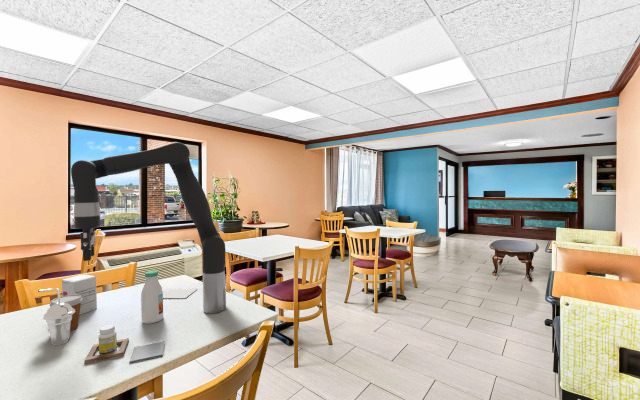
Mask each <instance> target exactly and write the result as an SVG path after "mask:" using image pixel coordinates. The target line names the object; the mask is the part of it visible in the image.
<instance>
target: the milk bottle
mask: <svg viewBox="0 0 640 400" xmlns="http://www.w3.org/2000/svg"><path fill="white" fill-rule="evenodd" d="M158 277H159V271H158V270H148V271H146V272H145V273H144V279H145V281H144V284H143V287H142V290H141V292H140V293H141V294H140V296H141V297H140V306H141V308H140V310H141V312H140V313H141V322H142V323H143V324H146V325H147V324H148V325H149V324H155V323H158V322H159V321H162V320H163V318H164V298H163V291H164V290H163V288H162V285H161V283H160V281H159V279H158Z"/></svg>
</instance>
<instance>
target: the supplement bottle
mask: <svg viewBox="0 0 640 400" xmlns="http://www.w3.org/2000/svg"><path fill="white" fill-rule="evenodd" d="M117 340H118V339H117V331H116V325H115V324H106V325H103V326H101V327H99V334H98V344H99V349H98V353H99V354H98V355H102V354H107V353H112V352H117V349H118V346H117Z"/></svg>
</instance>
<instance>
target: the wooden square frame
mask: <svg viewBox="0 0 640 400" xmlns="http://www.w3.org/2000/svg"><path fill="white" fill-rule="evenodd" d="M129 340H130V339H129V338H128V337H127V338H121V339H117V347H118V346H120V347H119V348H118V351H117V350H116V351H115V352H112V353H107V354H102V355H100V354H98V355H96V354H97V352H98V351H99V343H95V344H93V345H92V346H91V348H90V350H89V352H88V353H87V355H86V357H85V359H84V360H83V362H84V365H88V364H92V363H93V364H94V363H95V362H97V363H98V362H102V361H106V360H111V359H116V358H121V357H124V354H125V353H126V349H127V346H128V344H129Z"/></svg>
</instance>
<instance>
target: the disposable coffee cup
mask: <svg viewBox="0 0 640 400" xmlns="http://www.w3.org/2000/svg"><path fill="white" fill-rule="evenodd" d="M60 298H61V302H64V303H68V304H70V305H71V307H72V308H74V309H75V313H74V314H73V315H72V320H71V326H70V332H72V331H74V330H76V329H78V328H79V323H80V321H79V320H80V315H81V314H80V306H81V301H82V298H81V295H77V294H74V295H66V296H60ZM56 303H58V297H55V298H54V299H51V300H50V303H49V308H50V307H51V306H52V305H54V304H56ZM79 314H80V315H79Z"/></svg>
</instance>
